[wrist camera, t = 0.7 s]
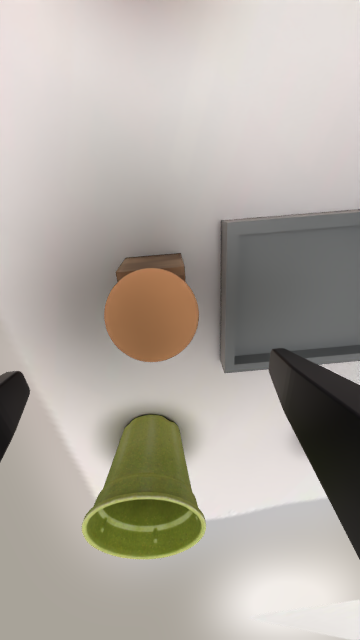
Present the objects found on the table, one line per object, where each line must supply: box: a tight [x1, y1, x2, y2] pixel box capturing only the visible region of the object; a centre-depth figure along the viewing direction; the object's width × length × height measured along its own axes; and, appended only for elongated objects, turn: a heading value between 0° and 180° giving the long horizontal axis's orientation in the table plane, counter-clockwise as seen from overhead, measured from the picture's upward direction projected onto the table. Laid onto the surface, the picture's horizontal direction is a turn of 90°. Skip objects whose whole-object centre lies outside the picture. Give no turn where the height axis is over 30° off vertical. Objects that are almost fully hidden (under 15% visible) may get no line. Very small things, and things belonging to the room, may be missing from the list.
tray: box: [220, 209, 360, 373], centre depth 19 cm, size 15×12×2 cm
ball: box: [104, 268, 199, 362], centre depth 13 cm, size 5×5×5 cm
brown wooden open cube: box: [116, 253, 185, 282], centre depth 16 cm, size 4×4×4 cm
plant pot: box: [82, 415, 206, 559], centre depth 22 cm, size 9×9×9 cm
